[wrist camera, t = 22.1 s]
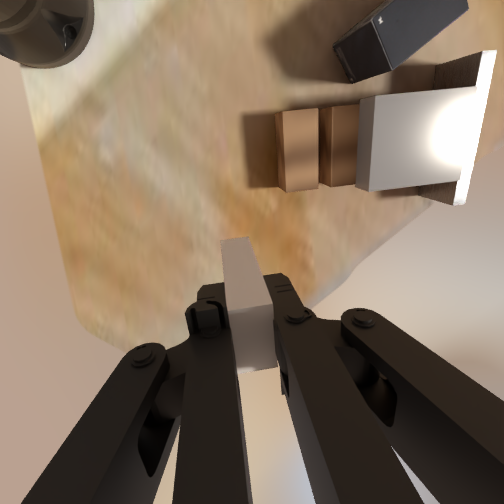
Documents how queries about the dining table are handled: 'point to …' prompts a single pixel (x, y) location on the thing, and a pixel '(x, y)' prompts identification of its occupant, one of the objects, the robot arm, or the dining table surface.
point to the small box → (393, 35)
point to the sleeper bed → (306, 147)
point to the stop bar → (469, 75)
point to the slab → (413, 138)
